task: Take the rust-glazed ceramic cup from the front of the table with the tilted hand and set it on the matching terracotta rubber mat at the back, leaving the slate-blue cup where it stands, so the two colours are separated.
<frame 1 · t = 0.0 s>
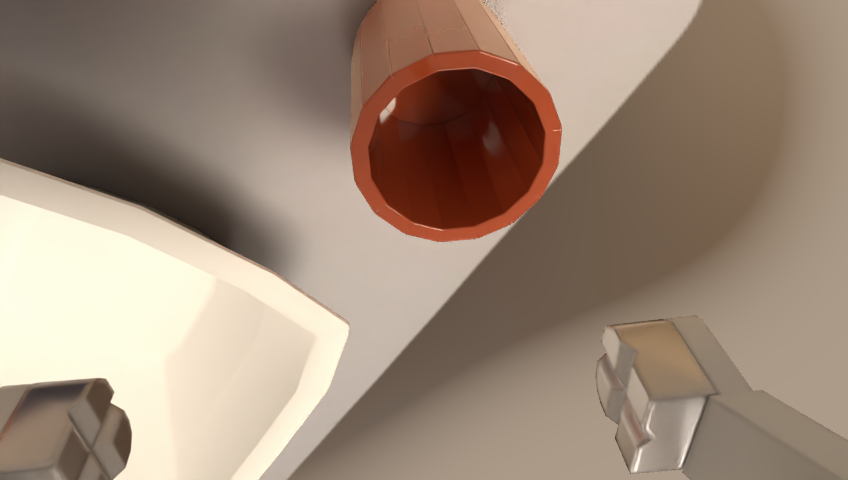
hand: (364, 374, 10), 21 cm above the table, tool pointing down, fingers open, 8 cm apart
rust cup: (428, 59, 28), on the table
bowl: (119, 274, 34), on the table
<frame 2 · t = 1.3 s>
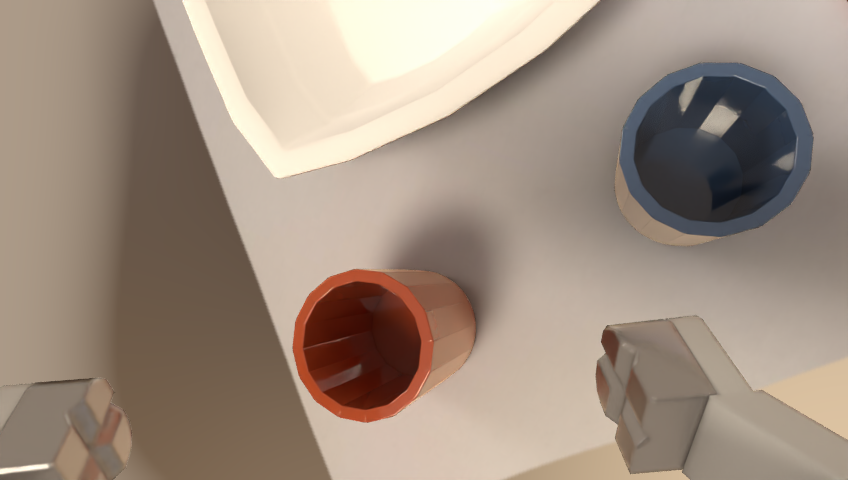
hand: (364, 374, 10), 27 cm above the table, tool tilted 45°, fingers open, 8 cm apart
rust cup: (421, 326, 38), on the table
blue cup: (680, 183, 34), on the table
bowl: (408, 0, 39), on the table
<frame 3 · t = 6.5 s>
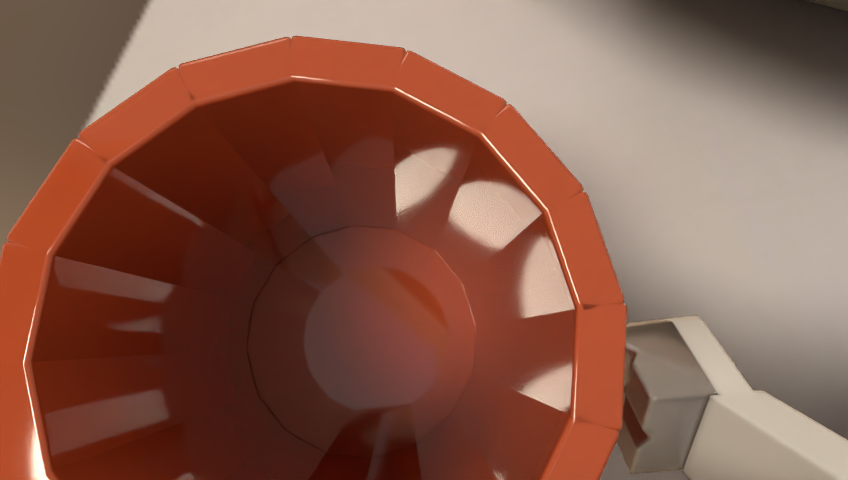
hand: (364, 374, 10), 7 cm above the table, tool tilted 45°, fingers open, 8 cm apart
rust cup: (364, 337, 16), on the table, touching gripper
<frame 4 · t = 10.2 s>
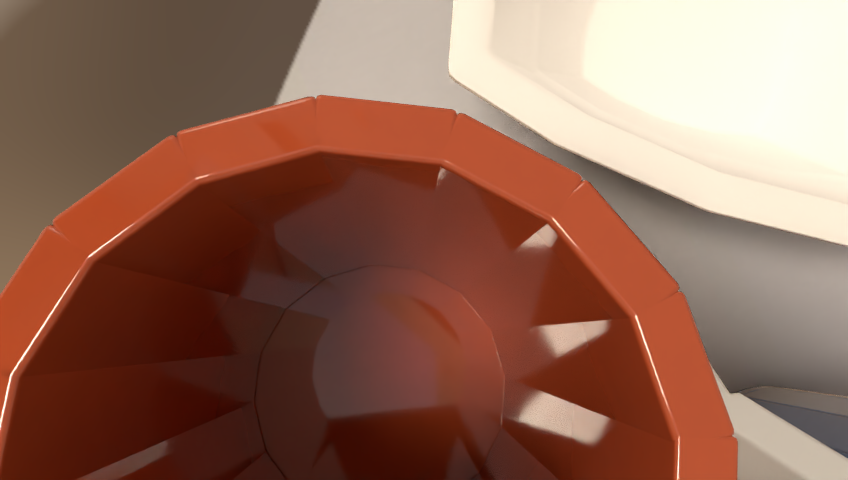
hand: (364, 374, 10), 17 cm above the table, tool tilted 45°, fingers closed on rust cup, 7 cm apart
rust cup: (382, 386, 15), point 12 cm above the table, touching gripper
blue cup: (771, 467, 27), on the table
bowl: (681, 37, 30), on the table
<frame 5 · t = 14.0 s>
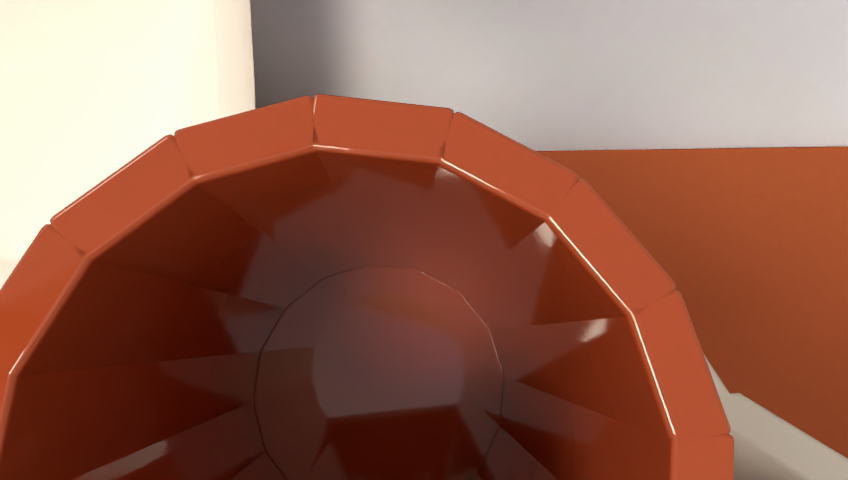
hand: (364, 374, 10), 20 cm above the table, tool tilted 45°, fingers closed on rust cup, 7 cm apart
rust mat: (704, 340, 30), on the table
rust cup: (381, 386, 15), point 14 cm above the table, touching gripper
bowl: (74, 164, 30), on the table
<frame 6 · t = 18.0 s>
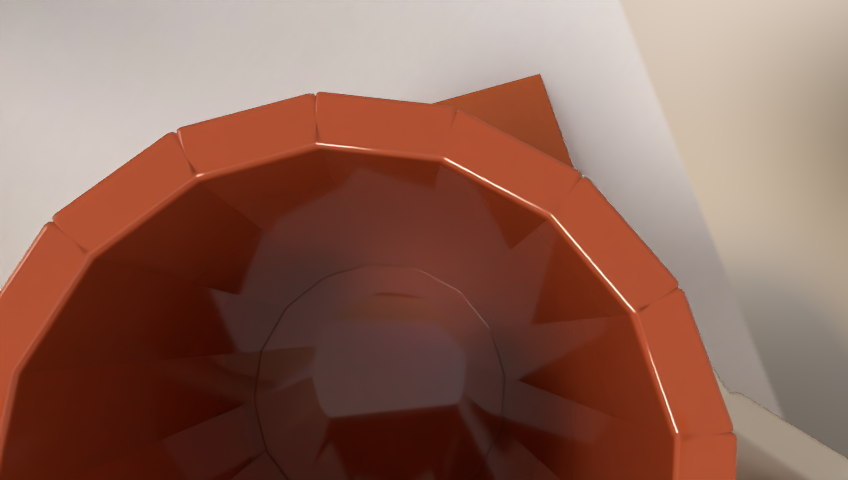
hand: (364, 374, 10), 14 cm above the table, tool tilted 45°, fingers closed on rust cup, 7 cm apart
rust mat: (383, 368, 24), on the table
rust cup: (381, 385, 15), point 9 cm above the table, touching gripper
when the fingers open (6 cm above the table, at t = 20.9 s): rust cup stays where it is, resting on rust mat.
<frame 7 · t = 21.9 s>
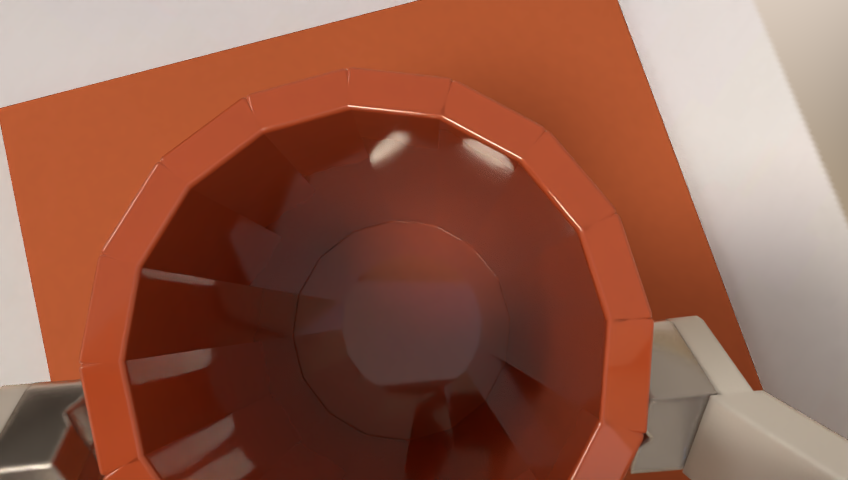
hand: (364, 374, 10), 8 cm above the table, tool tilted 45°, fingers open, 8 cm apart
rust mat: (396, 328, 18), on the table
rust cup: (402, 327, 17), point 1 cm above the table, touching gripper, rust mat
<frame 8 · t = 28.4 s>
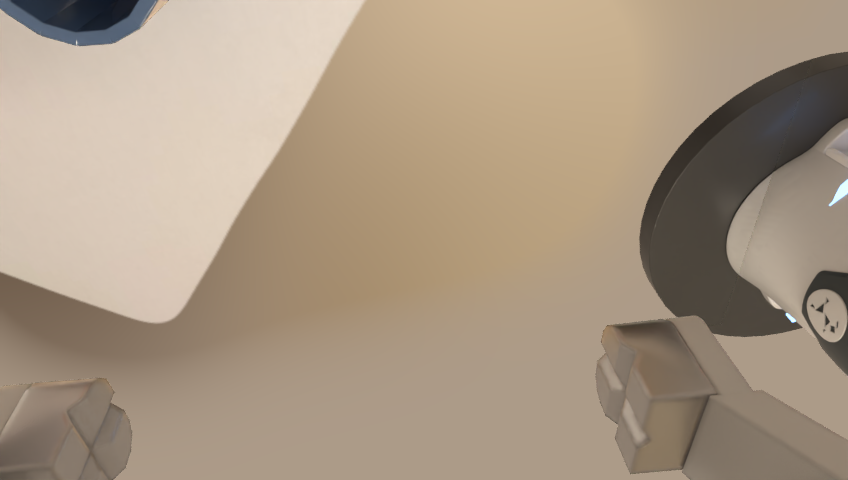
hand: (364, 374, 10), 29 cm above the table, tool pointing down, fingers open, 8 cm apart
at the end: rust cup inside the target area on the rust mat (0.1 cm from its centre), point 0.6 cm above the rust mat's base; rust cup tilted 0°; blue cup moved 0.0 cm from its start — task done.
